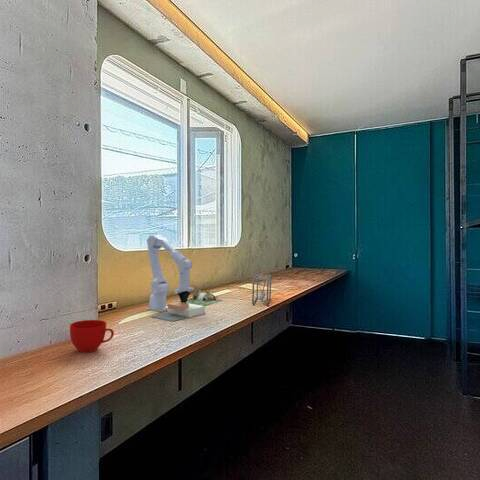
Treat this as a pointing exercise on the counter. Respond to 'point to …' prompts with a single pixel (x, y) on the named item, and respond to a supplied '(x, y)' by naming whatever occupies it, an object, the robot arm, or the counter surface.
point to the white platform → (188, 310)
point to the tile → (178, 305)
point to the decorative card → (203, 298)
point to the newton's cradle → (261, 288)
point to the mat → (169, 317)
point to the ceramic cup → (88, 334)
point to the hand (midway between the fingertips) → (183, 304)
